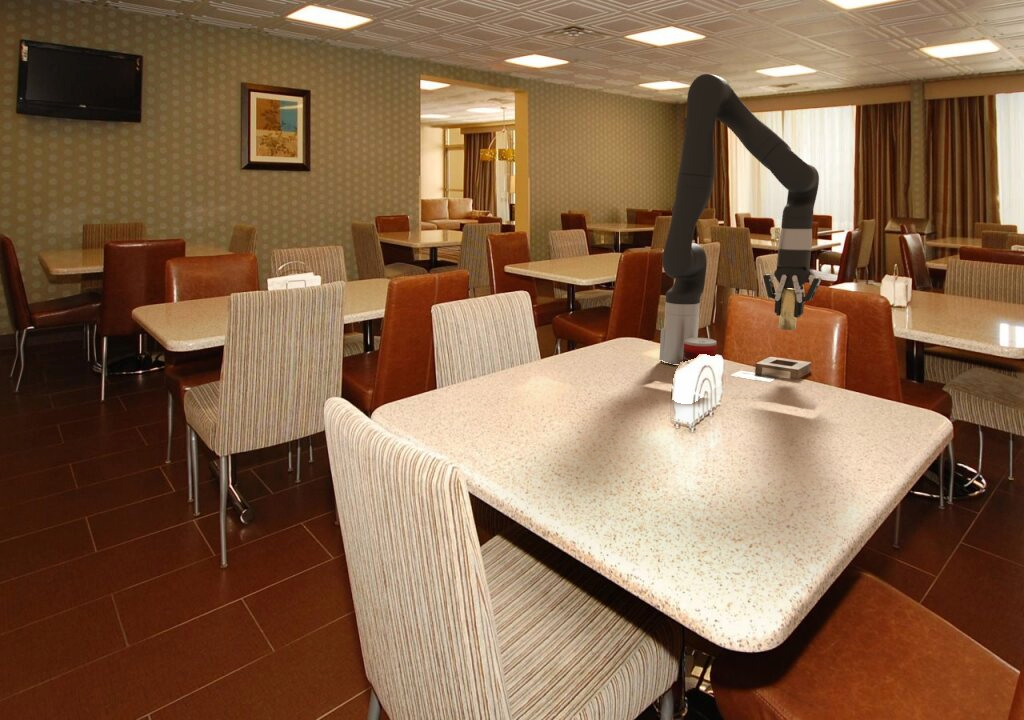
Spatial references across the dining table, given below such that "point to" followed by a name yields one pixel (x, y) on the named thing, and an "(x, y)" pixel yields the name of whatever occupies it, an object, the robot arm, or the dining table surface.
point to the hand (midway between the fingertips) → (788, 315)
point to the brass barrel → (788, 309)
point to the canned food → (698, 347)
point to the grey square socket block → (783, 368)
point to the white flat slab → (754, 376)
